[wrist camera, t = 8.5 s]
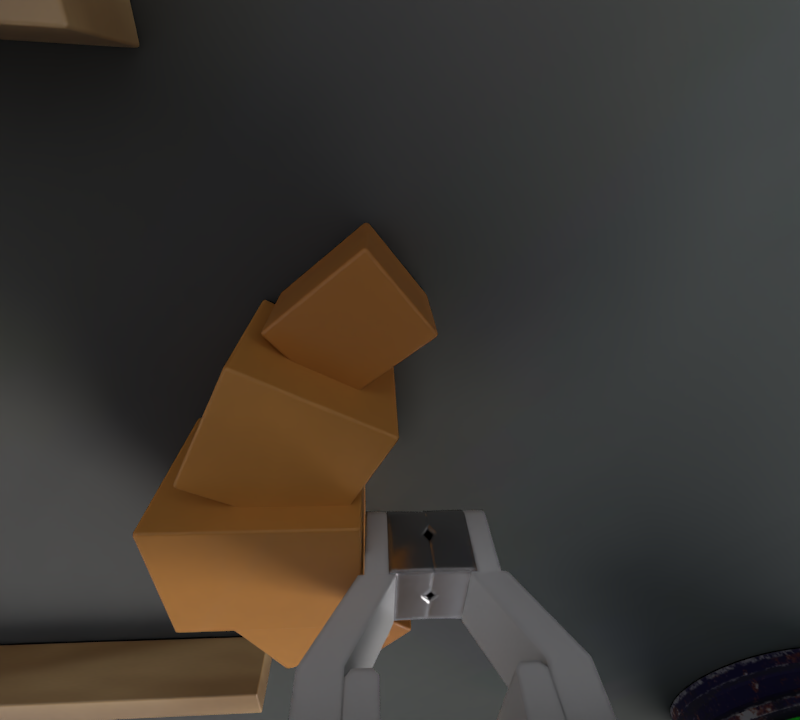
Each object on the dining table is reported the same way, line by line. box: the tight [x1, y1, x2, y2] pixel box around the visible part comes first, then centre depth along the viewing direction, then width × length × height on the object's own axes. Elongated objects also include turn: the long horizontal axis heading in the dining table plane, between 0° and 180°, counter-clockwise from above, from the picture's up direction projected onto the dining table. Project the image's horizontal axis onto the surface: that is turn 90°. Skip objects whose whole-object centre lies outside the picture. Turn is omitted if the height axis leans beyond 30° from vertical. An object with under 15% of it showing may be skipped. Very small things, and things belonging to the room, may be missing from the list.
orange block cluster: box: [133, 223, 438, 668], centre depth 11 cm, size 14×6×4 cm, turn 178°
